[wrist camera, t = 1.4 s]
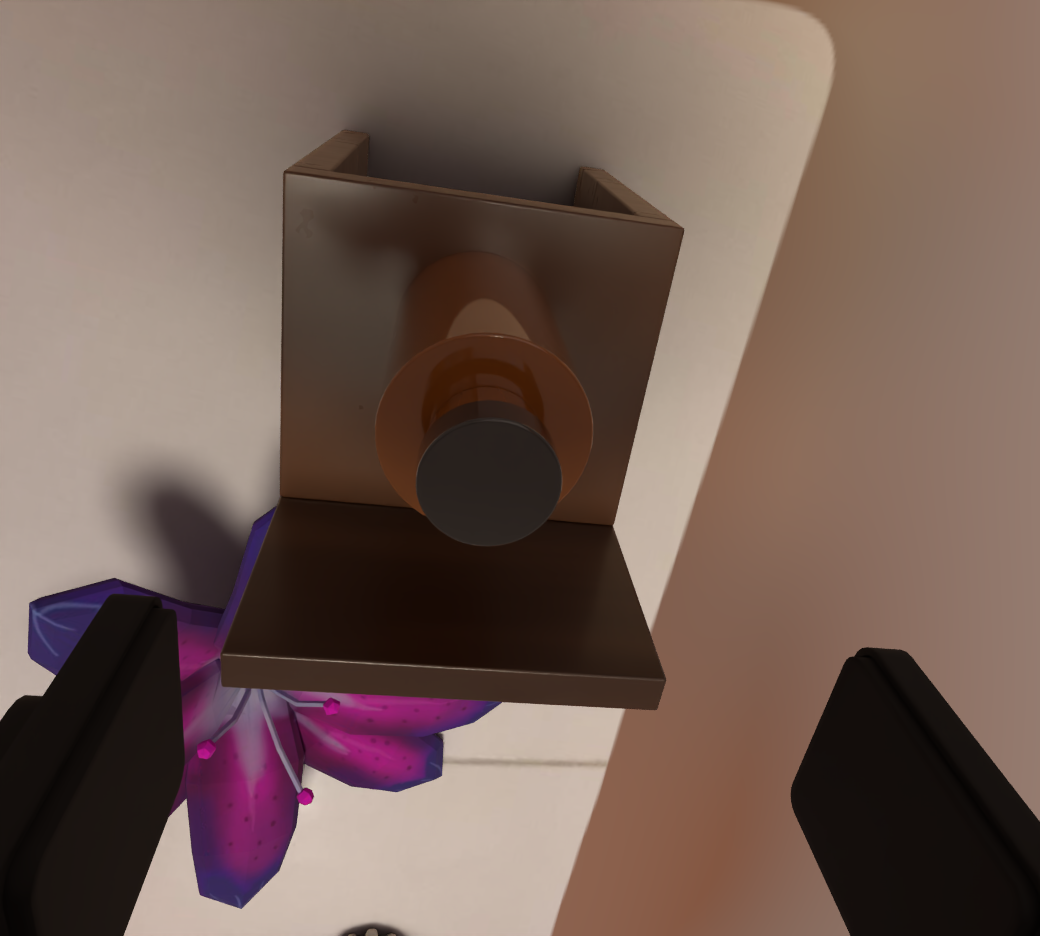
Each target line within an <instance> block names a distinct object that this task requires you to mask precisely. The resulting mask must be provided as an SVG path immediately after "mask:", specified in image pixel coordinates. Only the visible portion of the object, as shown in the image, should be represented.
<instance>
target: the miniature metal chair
mask: <svg viewBox="0 0 1040 936" xmlns="http://www.w3.org/2000/svg"><path fill="white" fill-rule="evenodd" d="M368 151H369V134H367V133H361V132H355V131H348V130H342V131H341V132H340V133H338V134H337V135H335V136H334V137H332V138H331V139H330V140H328V141H327V142H325V143H324V144H322V145H321V146H319V147H318V148H317V149H315V150H314V151H312V152H311V153H309V154H308V155H307V156H305V157H304V158H302V159H301V160H299V161H298V162H297V163H295V164H294V165H292V166H291V167H289V168H288V169H286V170H285V171H284V173H283V246H282V336H281V427H280V499H279V501H278V504H277V507H276V509H275V512H274V514H273V517H272V520H271V522H270V525H269V528H268V530H267V533H266V535H265V538H264V541H263V543H262V546H261V548H260V551H259V554H258V556H257V559H256V561H255V564H254V567H253V569H252V572H251V575H250V577H249V580H248V582H247V585H246V588H245V590H244V593H243V595H242V598H241V601H240V603H239V606H238V608H237V611H236V614H235V616H234V619H233V621H232V624H231V627H230V629H229V632H228V635H227V637H226V640H225V642H224V645H223V648H222V650H221V653H220V661H221V685H222V687H231V688H250V689H269V690H287V691H306V692H325V693H343V694H362V695H381V696H399V697H418V698H437V699H455V700H474V701H493V702H512V703H530V704H549V705H568V706H586V707H605V708H624V709H642V710H657V708H658V705H659V702H660V699H661V695H662V692H663V689H664V686H665V682H666V678H665V674H664V672H663V669H662V666H661V663H660V660H659V658H658V654H657V652H656V649H655V646H654V643H653V640H652V637H651V634H650V631H649V629H648V626H647V623H646V620H645V617H644V614H643V611H642V608H641V606H640V603H639V600H638V597H637V594H636V591H635V588H634V586H633V583H632V580H631V577H630V574H629V571H628V568H627V565H626V563H625V560H624V557H623V554H622V551H621V548H620V545H619V542H618V540H617V537H616V534H615V531H614V528H613V524H614V521H615V517H616V513H617V509H618V505H619V500H620V496H621V492H622V488H623V484H624V480H625V475H626V471H627V467H628V463H629V459H630V455H631V450H632V446H633V442H634V438H635V434H636V430H637V426H638V421H639V417H640V413H641V409H642V405H643V401H644V396H645V392H646V388H647V384H648V380H649V376H650V371H651V367H652V363H653V359H654V355H655V351H656V346H657V342H658V338H659V334H660V330H661V326H662V321H663V317H664V313H665V309H666V305H667V301H668V296H669V292H670V288H671V284H672V280H673V276H674V272H675V267H676V263H677V259H678V255H679V251H680V247H681V242H682V238H683V234H684V228H682V227H681V226H680V225H678V224H677V223H676V222H674V221H673V220H671V219H670V218H669V217H667V216H666V215H665V214H663V213H662V212H660V211H659V210H658V209H656V208H655V207H654V206H652V205H651V204H650V203H648V202H647V201H645V200H644V199H643V198H641V197H640V196H639V195H637V194H636V193H635V192H633V191H632V190H631V189H629V188H628V187H626V186H625V185H624V184H622V183H621V182H620V181H618V180H617V179H616V178H614V177H613V176H611V175H610V174H609V173H607V172H606V171H605V170H603V169H596V168H589V167H583V166H582V167H580V170H579V176H578V181H577V187H576V193H575V199H574V204H573V207H572V206H566V205H559V204H552V203H545V202H538V201H531V200H524V199H518V198H511V197H504V196H497V195H490V194H483V193H476V192H469V191H463V190H456V189H449V188H442V187H435V186H428V185H421V184H414V183H408V182H401V181H394V180H387V179H380V178H373V177H367V168H368ZM470 251H479V252H488V253H493V254H497V255H500V256H503V257H506V258H508V259H510V260H512V261H514V262H516V263H517V264H519V265H520V266H521V267H523V268H524V269H525V270H527V271H528V272H529V273H530V274H531V275H532V276H533V277H534V278H535V280H536V281H537V282H538V283H539V285H540V286H541V288H542V289H543V291H544V293H545V295H546V297H547V299H548V301H549V304H550V306H551V309H552V311H553V314H554V316H555V319H556V321H557V324H558V326H559V329H560V331H561V334H562V336H563V339H564V341H565V343H566V346H567V348H568V351H569V353H570V356H571V358H572V361H573V363H574V366H575V368H576V371H577V373H578V376H579V378H580V380H581V383H582V385H583V388H584V390H585V393H586V395H587V398H588V401H589V404H590V408H591V412H592V419H593V441H592V448H591V452H590V455H589V459H588V462H587V464H586V466H585V469H584V471H583V473H582V475H581V476H580V478H579V480H578V481H577V483H576V484H575V486H574V487H573V488H572V489H571V491H570V492H569V493H568V494H567V495H566V496H565V497H564V498H563V499H562V500H561V501H560V502H559V503H558V504H557V505H556V507H555V509H554V511H553V512H552V514H551V515H550V517H549V518H548V519H547V520H546V522H545V523H544V524H543V525H542V526H540V527H539V528H538V529H537V530H536V531H534V532H533V533H531V534H530V535H528V536H526V537H525V538H522V539H520V540H518V541H515V542H512V543H509V544H505V545H499V546H476V545H470V544H466V543H462V542H460V541H457V540H454V539H452V538H451V537H449V536H447V535H445V534H444V533H442V532H441V531H440V530H438V529H437V528H436V527H435V526H434V525H433V524H432V523H431V522H430V521H429V519H428V518H427V517H426V516H424V515H422V514H421V513H419V512H418V511H417V510H415V509H414V508H412V507H411V506H410V505H409V504H408V503H407V502H405V501H404V500H403V499H402V498H401V497H400V496H399V494H398V493H397V492H396V491H395V490H394V489H393V487H392V486H391V484H390V483H389V481H388V480H387V478H386V476H385V474H384V472H383V470H382V468H381V466H380V463H379V459H378V456H377V452H376V446H375V420H376V414H377V409H378V404H379V399H380V394H381V389H382V384H383V379H384V374H385V369H386V364H387V359H388V355H389V350H390V345H391V340H392V335H393V330H394V325H395V320H396V315H397V311H398V307H399V304H400V301H401V299H402V296H403V294H404V292H405V290H406V289H407V287H408V286H409V284H410V283H411V282H412V280H413V279H414V278H415V277H416V276H417V275H418V274H419V273H420V272H421V271H422V270H423V269H424V268H426V267H427V266H429V265H430V264H432V263H433V262H435V261H437V260H439V259H441V258H443V257H446V256H449V255H452V254H456V253H461V252H470Z"/></svg>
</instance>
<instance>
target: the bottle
mask: <svg viewBox="0 0 1040 936" xmlns="http://www.w3.org/2000/svg"><path fill="white" fill-rule="evenodd" d="M348 936H356V935H355V934H353V933H352V934H350V935H348ZM365 936H378V933H377V930H376V929H369V930H367V932H366V935H365ZM387 936H396V935H395V934H393V933H389V934H388V935H387Z"/></svg>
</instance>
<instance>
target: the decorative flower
mask: <svg viewBox="0 0 1040 936" xmlns="http://www.w3.org/2000/svg"><path fill="white" fill-rule="evenodd" d="M276 507H277V506H276ZM276 507H274V508H273V509H271V510H270V511H269V512H267V513H266V514H264V515H263V516H262V517H260V518H259V519H257V520H256V521H255V522H254V524H253V526H252V529H251V533H250V536H249V539H248V543H247V546H246V549H245V553H244V556H243V559H242V563H241V566H240V569H239V573H238V576H237V579H236V583H235V586H234V589H233V592H232V595H231V597H230V599H229V602H228V604H227V606H226V609H222V608H216V607H211V606H205V605H199V604H194V603H188V602H183V601H179V600H177V599H174V598H171V597H168V596H165V595H162V594H159V593H156V592H153V591H150V590H148V589H145V588H142V587H139V586H136V585H133V584H130V583H127V582H124V581H121V580H119V579H116V578H112V579H109V580H105V581H101V582H97V583H94V584H90V585H86V586H82V587H79V588H75V589H71V590H67V591H64V592H60V593H56V594H52V595H49V596H45V597H41V598H39V599H37V600H35V601H32V602H30V603H29V631H28V654H29V656H30V658H31V659H32V660H33V661H35V662H36V663H38V664H39V665H41V666H43V667H44V668H46V669H47V670H49V671H50V672H52V673H53V674H55V675H57V674H58V672H59V671H60V669H61V668H62V666H63V664H64V663H65V661H66V660H67V658H68V657H69V655H70V654H71V652H72V651H73V649H74V648H75V646H76V645H77V643H78V641H79V640H80V638H81V637H82V635H83V634H84V632H85V631H86V629H87V628H88V626H89V625H90V623H91V621H92V620H93V618H94V617H95V615H96V614H97V612H98V611H99V609H100V608H101V606H102V605H103V603H104V602H105V600H106V599H107V598H108V597H109V595H111V594H127V595H141V596H155V597H159V598H160V599H161V601H162V605H163V608H164V609H173V610H175V612H176V616H177V629H178V646H179V663H180V680H181V697H182V714H183V730H184V747H185V765H184V772H183V777H182V781H181V785H180V788H179V790H178V793H177V796H176V798H175V801H174V804H173V806H172V809H171V811H170V814H169V816H170V815H171V814H172V813H173V812H174V811H175V810H176V809H177V808H178V807H179V806H180V804H181V803H182V802H183V801H184V800H185V799H186V798H187V807H188V817H189V827H190V838H191V848H192V855H193V861H194V866H195V872H196V877H197V883H198V888H199V893H200V895H201V896H204V897H207V898H210V899H213V900H216V901H219V902H222V903H225V904H228V905H231V906H234V907H237V908H240V909H242V908H243V907H244V906H245V905H246V904H247V903H248V902H249V901H250V900H251V899H252V898H253V897H254V896H255V895H256V894H257V893H258V892H259V891H260V890H261V889H262V888H263V887H264V886H265V885H266V884H267V883H268V882H269V880H270V879H271V878H272V877H273V876H274V875H275V874H276V873H277V872H278V871H279V870H280V867H281V865H282V862H283V859H284V857H285V854H286V852H287V849H288V846H289V844H290V841H291V838H292V836H293V833H294V831H295V828H296V824H297V816H298V807H299V803H301V804H303V805H308V804H310V803H311V802H312V800H313V797H314V795H313V792H312V790H310V789H308V788H304V789H303V788H302V786H301V781H302V773H303V764H306V765H308V766H310V767H312V768H314V769H316V770H318V771H320V772H322V773H325V774H327V775H329V776H331V777H333V778H335V779H337V780H339V781H341V782H343V783H345V784H347V785H349V786H352V787H361V788H369V789H377V790H385V791H392V792H399V791H402V790H405V789H408V788H411V787H414V786H417V785H420V784H423V783H425V782H428V781H431V780H434V779H437V778H439V777H441V776H442V762H443V741H442V739H440V738H439V737H438V736H437V735H435V733H438V732H442V731H445V730H449V729H453V728H456V727H460V726H463V725H467V724H470V723H474V722H475V721H477V720H478V719H479V718H481V717H482V716H484V715H485V714H486V713H488V712H489V711H491V710H492V709H494V708H495V707H496V706H498V705H499V704H501V703H502V702H493V701H474V700H455V699H437V698H418V697H399V696H381V695H362V694H343V693H325V692H306V691H287V690H269V689H250V688H231V687H222V685H221V661H220V653H221V650H222V648H223V645H224V642H225V640H226V637H227V635H228V632H229V629H230V627H231V624H232V621H233V619H234V616H235V614H236V611H237V608H238V606H239V603H240V601H241V598H242V595H243V593H244V590H245V588H246V585H247V582H248V580H249V577H250V575H251V572H252V569H253V567H254V564H255V561H256V559H257V556H258V554H259V551H260V548H261V546H262V543H263V541H264V538H265V535H266V533H267V530H268V528H269V525H270V522H271V520H272V517H273V514H274V512H275V509H276Z"/></svg>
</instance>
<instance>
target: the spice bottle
mask: <svg viewBox="0 0 1040 936" xmlns="http://www.w3.org/2000/svg"><path fill="white" fill-rule="evenodd" d="M592 441H593V419H592V412H591V408H590V404H589V401H588V398H587V395H586V393H585V390H584V388H583V385H582V383H581V380H580V378H579V376H578V373H577V371H576V368H575V366H574V363H573V361H572V358H571V356H570V353H569V351H568V348H567V346H566V343H565V341H564V339H563V336H562V334H561V331H560V329H559V326H558V324H557V321H556V319H555V316H554V314H553V311H552V309H551V306H550V304H549V301H548V299H547V297H546V295H545V293H544V291H543V289H542V288H541V286H540V285H539V283H538V282H537V281H536V280H535V278H534V277H533V276H532V275H531V274H530V273H529V272H528V271H527V270H525V269H524V268H523V267H521V266H520V265H519V264H517V263H516V262H514V261H512V260H510V259H508V258H506V257H503V256H500V255H497V254H493V253H488V252H479V251H470V252H461V253H456V254H452V255H449V256H446V257H443V258H441V259H439V260H437V261H435V262H433V263H432V264H430V265H429V266H427V267H426V268H424V269H423V270H422V271H421V272H420V273H419V274H418V275H417V276H416V277H415V278H414V279H413V280H412V282H411V283H410V284H409V286H408V287H407V289H406V290H405V292H404V294H403V296H402V299H401V301H400V304H399V307H398V311H397V315H396V320H395V325H394V330H393V335H392V340H391V345H390V350H389V355H388V359H387V364H386V369H385V374H384V379H383V384H382V389H381V394H380V399H379V404H378V409H377V414H376V420H375V446H376V452H377V456H378V459H379V463H380V466H381V468H382V470H383V472H384V474H385V476H386V478H387V480H388V481H389V483H390V484H391V486H392V487H393V489H394V490H395V491H396V492H397V493H398V494H399V496H400V497H401V498H402V499H403V500H404V501H405V502H407V503H408V504H409V505H410V506H411V507H412V508H414V509H415V510H417V511H418V512H419V513H421V514H422V515H424V516H426V517H427V518H428V519H429V521H430V522H431V523H432V524H433V525H434V526H435V527H436V528H437V529H438V530H440V531H441V532H442V533H444V534H445V535H447V536H449V537H451V538H452V539H454V540H457V541H460V542H462V543H466V544H470V545H476V546H499V545H505V544H509V543H512V542H515V541H518V540H520V539H522V538H525V537H526V536H528V535H530V534H531V533H533V532H534V531H536V530H537V529H538V528H539V527H540V526H542V525H543V524H544V523H545V522H546V520H547V519H548V518H549V517H550V515H551V514H552V512H553V511H554V509H555V507H556V505H557V504H558V503H559V502H560V501H561V500H562V499H563V498H564V497H565V496H566V495H567V494H568V493H569V492H570V491H571V489H572V488H573V487H574V486H575V484H576V483H577V481H578V480H579V478H580V476H581V475H582V473H583V471H584V469H585V466H586V464H587V462H588V459H589V455H590V452H591V448H592Z"/></svg>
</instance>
